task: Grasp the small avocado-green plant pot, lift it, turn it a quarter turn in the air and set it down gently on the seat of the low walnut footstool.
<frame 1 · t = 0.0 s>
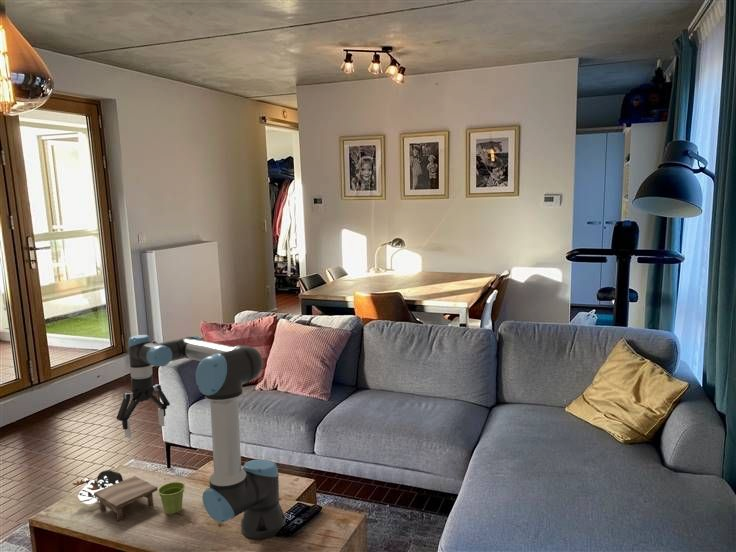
hand: (145, 431, 202), 28 cm above the table, fingers open, 13 cm apart
plant pot: (173, 510, 198), on the table
footstool: (127, 507, 201), on the table
figurine: (99, 497, 209), on the table
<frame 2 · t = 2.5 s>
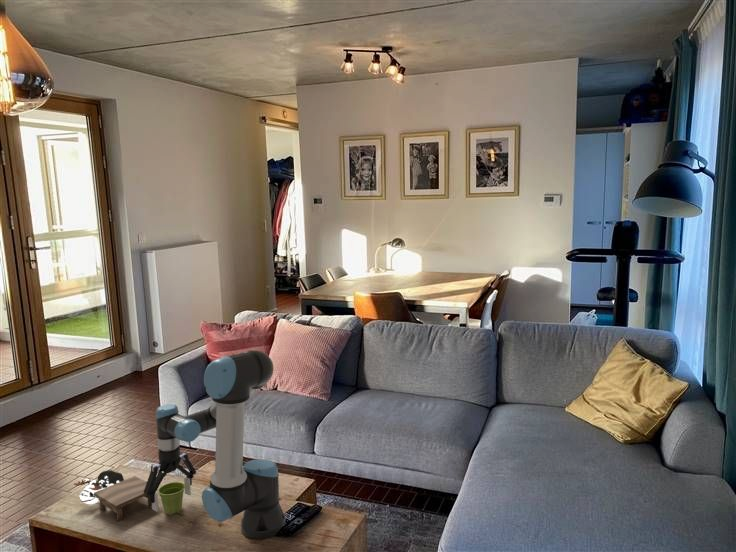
hand: (172, 501, 198), 3 cm above the table, fingers open, 13 cm apart
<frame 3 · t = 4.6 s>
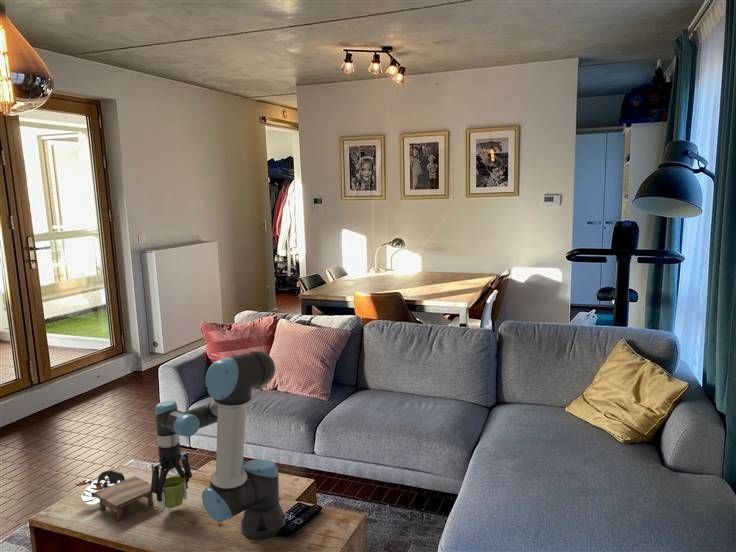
hand: (173, 503, 198), 3 cm above the table, fingers closed on plant pot, 8 cm apart
plant pot: (173, 504, 198), point 2 cm above the table, touching gripper
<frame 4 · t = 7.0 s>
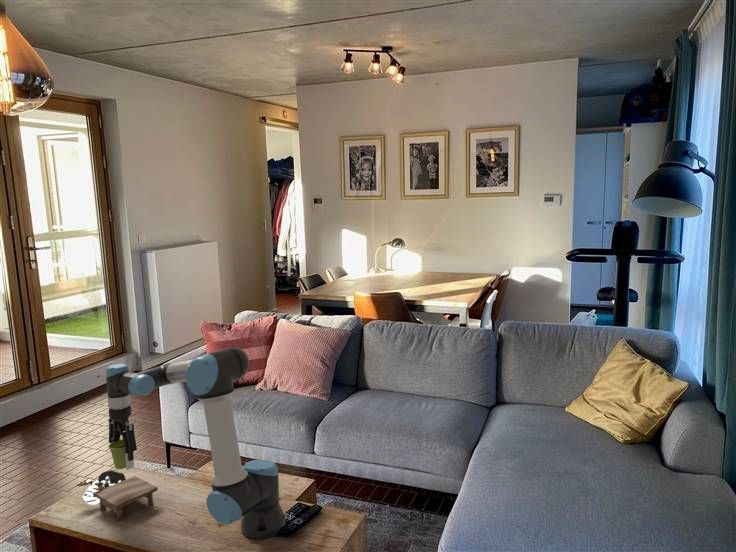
hand: (123, 465, 199), 17 cm above the table, fingers closed on plant pot, 8 cm apart
plant pot: (123, 466, 199), point 16 cm above the table, touching gripper
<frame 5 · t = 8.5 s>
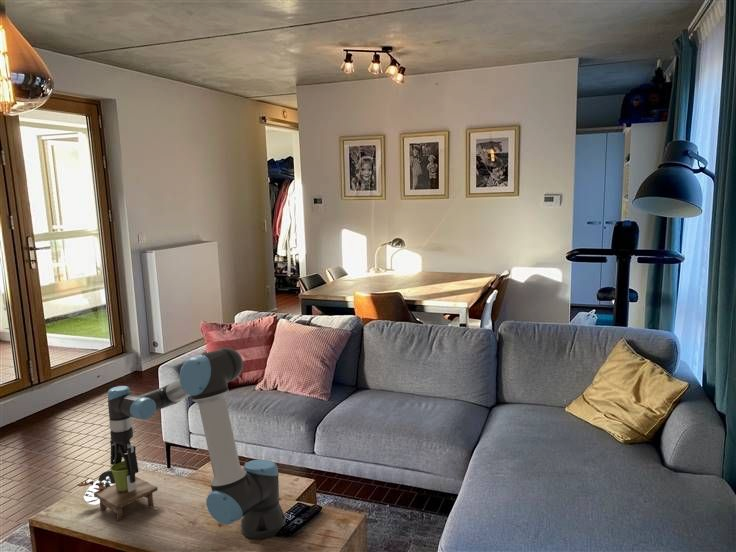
hand: (125, 486, 200), 8 cm above the table, fingers closed on plant pot, 8 cm apart
plant pot: (125, 488, 200), point 8 cm above the table, touching gripper
when the fingers open (8 cm above the table, at t = 9.3 s): plant pot moves 3 cm, resting on footstool.
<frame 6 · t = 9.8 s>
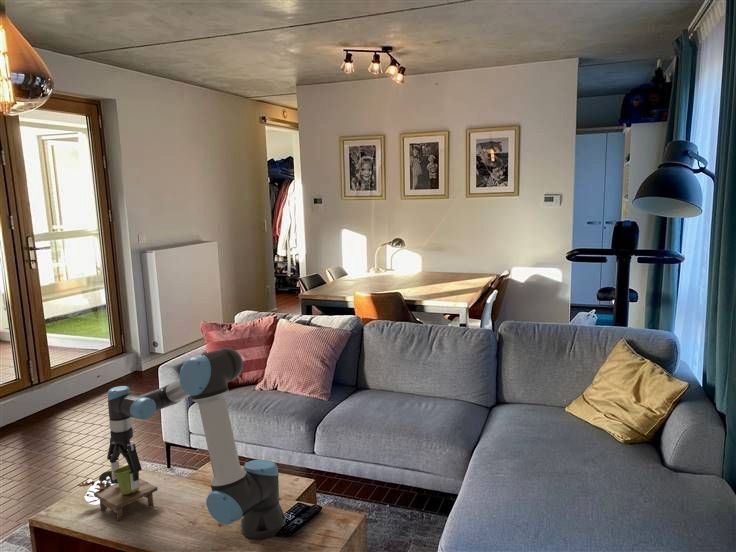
hand: (125, 483, 200), 10 cm above the table, fingers open, 13 cm apart
plant pot: (130, 491, 198), point 7 cm above the table, touching footstool, gripper
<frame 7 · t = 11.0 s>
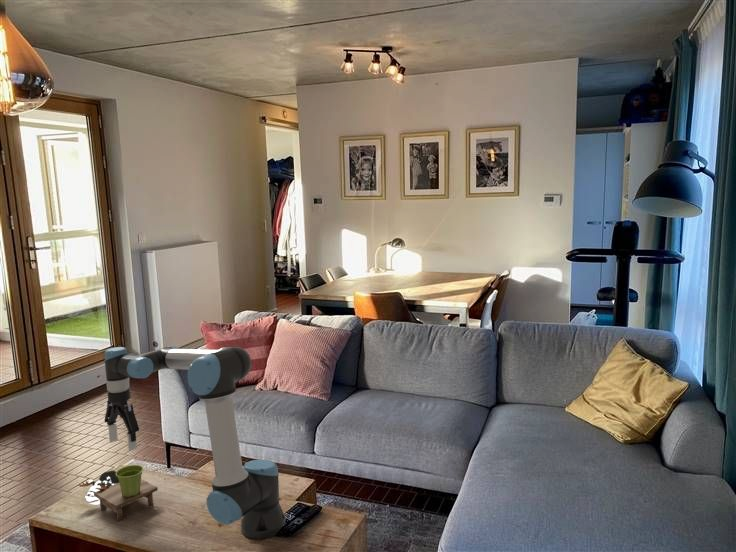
hand: (123, 445, 198), 24 cm above the table, fingers open, 13 cm apart
plant pot: (130, 493, 198), point 7 cm above the table, touching footstool
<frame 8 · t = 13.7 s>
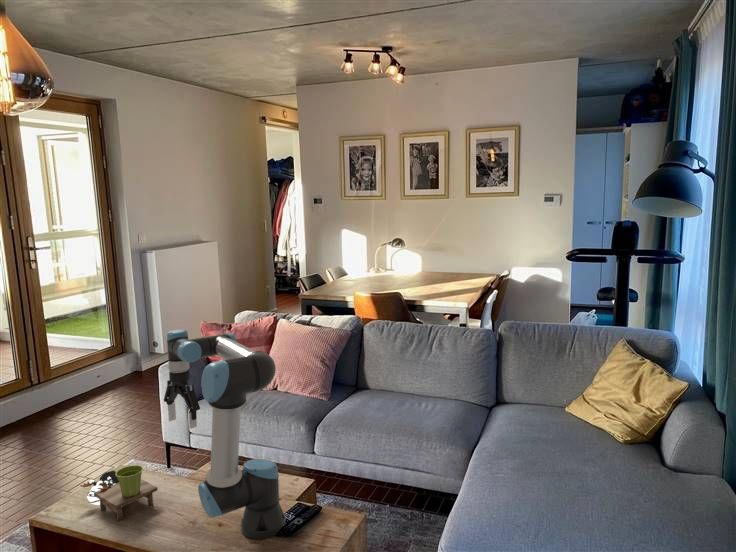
hand: (182, 423, 207), 29 cm above the table, fingers open, 13 cm apart
at the end: plant pot inside the target area on the footstool (3.9 cm from its centre), point 6.8 cm above the footstool's base; plant pot tilted 0°; the gripper is holding nothing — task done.
